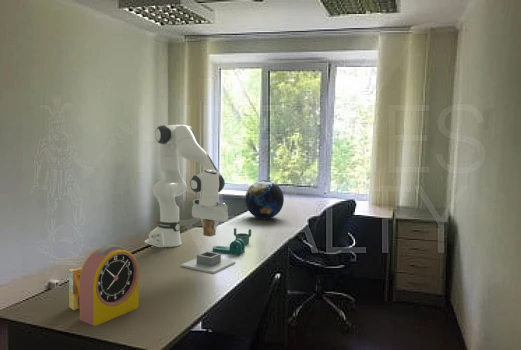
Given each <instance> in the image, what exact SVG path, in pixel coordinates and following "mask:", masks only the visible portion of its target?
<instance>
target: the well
mask: <svg viewBox="0 0 521 350" xmlns="http://www.w3.org/2000/svg"><path fill="white" fill-rule="evenodd" d="M235 264H236V261H234V260H229V259H226V258H222V253H217V252H213V251H208V250H206V251H203V252H201V253H199V254H196V257H195V258H194V259H191V260H189V261H187V262H186V261H185V262H184V263H182V264H180V266H181V267H182V268H187V269H191V270H194V271H195V270H196V271H200V272H204V273H208V274H209V273H210V274H213V275H214V274H216V273H219V272H220V271H222V270H224V269H226V268H228V267H231V266H233V265H235Z"/></svg>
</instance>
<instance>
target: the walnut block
mask: <svg viewBox="0 0 521 350" xmlns="http://www.w3.org/2000/svg"><path fill="white" fill-rule="evenodd" d="M214 224H215V223H214V221H213V220H207V219H205V220H204V222H203V224H202V228H203V229H202V235H203V236H205V237H210V238H211V237H213V236H216V234H217V233H216V231H217V228H216V229H212V228H213V227H212V226H213V225H214Z"/></svg>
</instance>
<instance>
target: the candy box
mask: <svg viewBox="0 0 521 350" xmlns="http://www.w3.org/2000/svg"><path fill="white" fill-rule="evenodd" d="M81 270H82V266H80V267H75V268H70V269H68V298H69V299H68V303H69V304H68V307H69V309H71V310H73V311H76V310H80V290H79V280H80V273H81Z"/></svg>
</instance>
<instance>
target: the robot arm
mask: <svg viewBox="0 0 521 350" xmlns="http://www.w3.org/2000/svg"><path fill="white" fill-rule="evenodd" d="M154 132H155V133H154V134H155V135H154V137H155V140H156V142H157V143H159V152H158V153H159V154H158V155H159V170H160V171H161V172H162V174H163V175H164V179H163V180H159V181H158V182H155V184H154V185H153V186H152V194H153V195H154V197H155V198H156V199H157V201H158V204H159V209H160V210H159V213H160V214H159V215H160V219H159V220H158V221H157V222H156V225H157V226H156V227H155V228H153V229H152V230H151V231H150V232H149V233H148V238H147V239H145V240H144V241H143V242H144V243H145V244H148V245H151V246H153V247H157V248H173V247H179V246H182V239H181V234H180V233H181V231H180V230H181V229H180V228H181V220H180V207H179V206H178V205H177V203H176V197H180V196H181V195H182V194H184V193H185V192H187V188H188V187H187V186H188V185H187V183H186V180H184V179H183V176H182V173H181V171H180V170H181V169H180V161H179V160H180V158H179V157H180V156H181V157H182V158H184V159H186V160H189V161H193V162H196V163H198V164H200V165H201V166H202V167H203V168H204V169H203V170H202V172H200V173H198V174H194V175H193V176H192V178H191V179H190V189H191V190H192V191H193V192H194V193H196V194H201V197H199V198H196V199H193V200H192V204H193V205H192V207H191V216H192V218H195V219H200V222H201V224H202V225H203V222H204V220H205V219H207V220H213V221H214V223H215V224H214V225H213V226H212V227H213V228H212V229H216V230H217V228H218V227H217V226H218V225H219V223H225V222H227V221H228V220H229V214H228V212H229V211H228V210H229V209H228V208H229V207H228V205H227V204H226V203H225V202H220V195H219V193H220V192H221V191H222V190H223V189H224V187H225V185H226V181H225V178H224V177H223V175H222V174H221V173H220V172H219V170H218V169H217V167H216V165H215V163H214V162H213V160H212V159H211V156H210V155H209V153H208V152H207V151H206V150H205V149H204V148H202V147H201V146H200V144H199V143H198V141H197V140H196V137H195V135H194V134H195V133H194V130H193V127H192V126H190V125H189V124H188V125H187V124H167V125H166V124H164V125H158V126H157V127H156V129H155V131H154Z"/></svg>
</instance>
